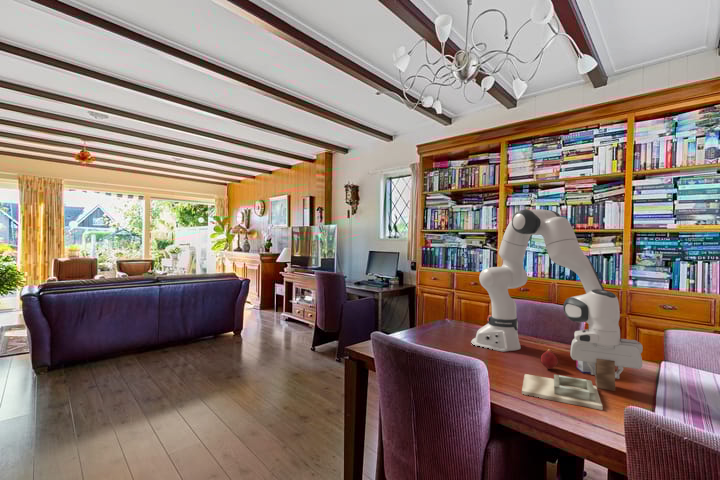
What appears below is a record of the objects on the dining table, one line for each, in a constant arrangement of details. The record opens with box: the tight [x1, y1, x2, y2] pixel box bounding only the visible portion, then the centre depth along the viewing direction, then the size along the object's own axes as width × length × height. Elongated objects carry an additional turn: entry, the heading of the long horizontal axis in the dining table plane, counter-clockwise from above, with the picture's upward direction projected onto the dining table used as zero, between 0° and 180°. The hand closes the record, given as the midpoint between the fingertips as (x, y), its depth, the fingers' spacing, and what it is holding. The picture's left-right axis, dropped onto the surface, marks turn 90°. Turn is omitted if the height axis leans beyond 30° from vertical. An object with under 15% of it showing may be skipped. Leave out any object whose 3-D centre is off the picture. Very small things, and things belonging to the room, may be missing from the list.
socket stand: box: [521, 373, 604, 411], centre depth 112 cm, size 22×16×4 cm
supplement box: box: [575, 360, 595, 375], centre depth 130 cm, size 6×6×12 cm
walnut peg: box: [594, 359, 616, 392], centre depth 115 cm, size 5×5×10 cm
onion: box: [540, 348, 559, 370], centre depth 132 cm, size 6×6×8 cm
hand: (604, 376), depth 115 cm, fingers closed on walnut peg, 5 cm apart
